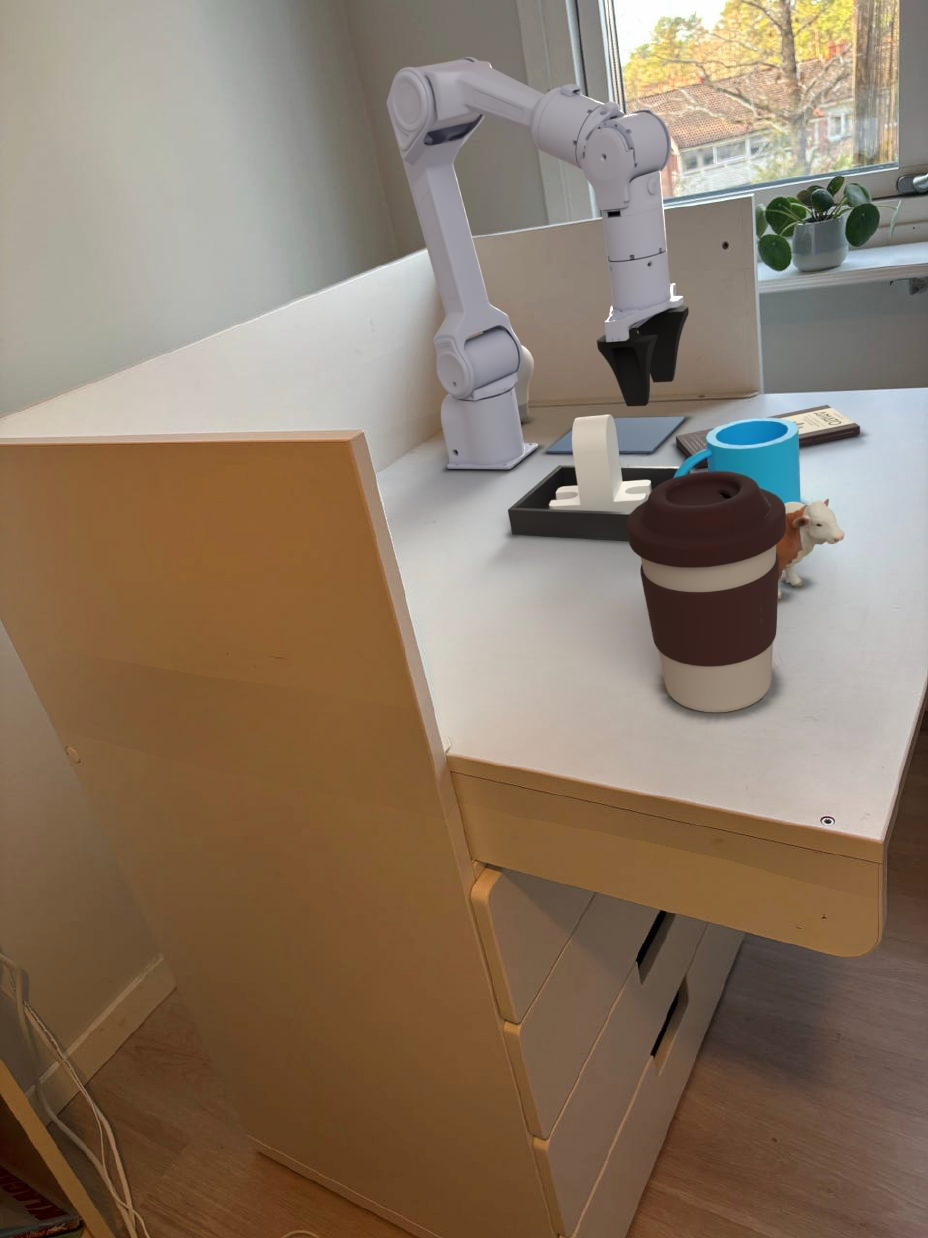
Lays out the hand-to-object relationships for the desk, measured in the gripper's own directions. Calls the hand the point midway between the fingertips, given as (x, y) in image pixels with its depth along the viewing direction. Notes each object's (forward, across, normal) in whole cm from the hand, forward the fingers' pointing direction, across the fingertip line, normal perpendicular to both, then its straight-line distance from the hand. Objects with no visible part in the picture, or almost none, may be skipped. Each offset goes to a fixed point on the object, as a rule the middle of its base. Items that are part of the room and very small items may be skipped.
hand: (650, 392), depth 96 cm
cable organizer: (+10, -8, +4) cm, 13 cm away
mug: (+10, -8, -10) cm, 17 cm away
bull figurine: (+10, -22, -16) cm, 29 cm away
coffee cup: (+10, -36, -17) cm, 41 cm away
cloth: (+10, +16, +11) cm, 22 cm away
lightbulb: (+10, +22, +28) cm, 37 cm away
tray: (+10, -8, +4) cm, 13 cm away
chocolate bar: (+10, +13, -8) cm, 18 cm away
